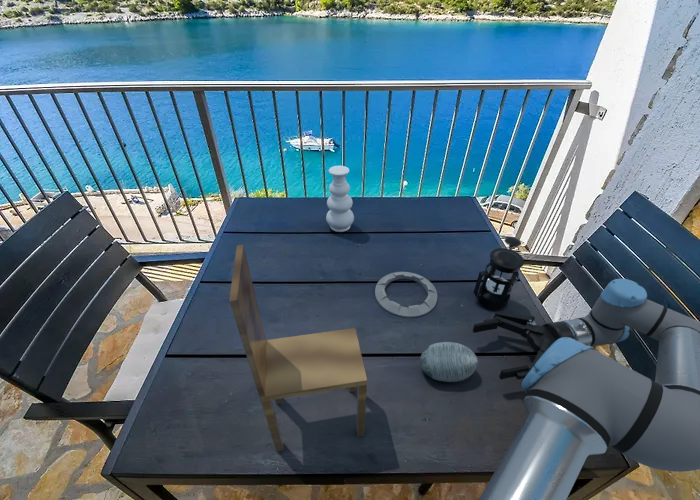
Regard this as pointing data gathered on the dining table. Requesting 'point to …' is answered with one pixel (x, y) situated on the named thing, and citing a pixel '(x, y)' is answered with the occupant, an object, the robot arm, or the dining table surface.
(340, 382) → the wooden chair
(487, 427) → the dining table surface
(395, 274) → the ring
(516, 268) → the french press
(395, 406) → the dining table surface
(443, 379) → the grey streaked ellipsoid
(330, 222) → the vase
